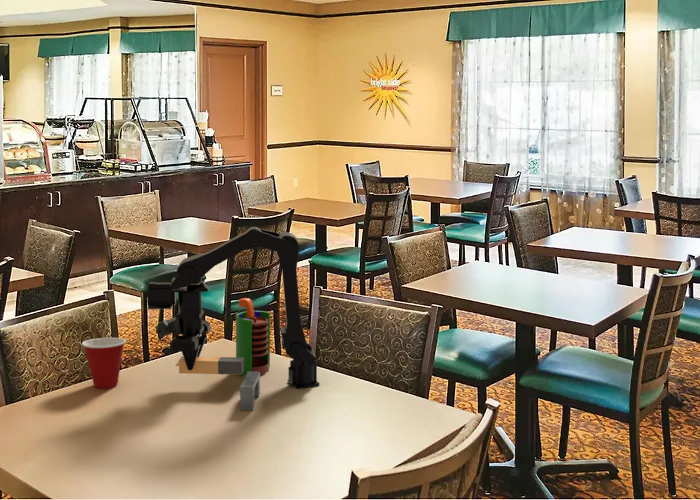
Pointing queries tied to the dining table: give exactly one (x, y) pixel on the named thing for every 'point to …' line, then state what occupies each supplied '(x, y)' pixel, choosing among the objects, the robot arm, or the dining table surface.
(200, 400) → the dining table surface
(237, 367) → the plug
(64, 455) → the dining table surface
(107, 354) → the plastic cup
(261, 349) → the green tall cylinder
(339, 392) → the dining table surface
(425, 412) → the dining table surface
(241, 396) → the housing
